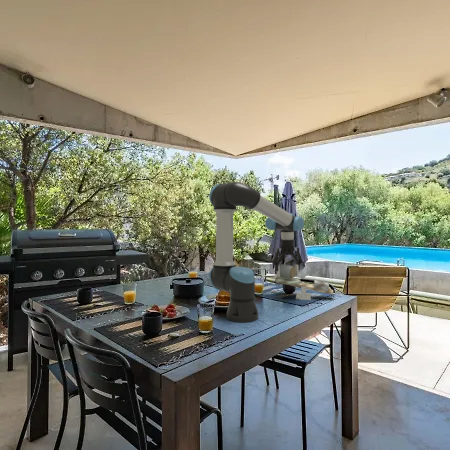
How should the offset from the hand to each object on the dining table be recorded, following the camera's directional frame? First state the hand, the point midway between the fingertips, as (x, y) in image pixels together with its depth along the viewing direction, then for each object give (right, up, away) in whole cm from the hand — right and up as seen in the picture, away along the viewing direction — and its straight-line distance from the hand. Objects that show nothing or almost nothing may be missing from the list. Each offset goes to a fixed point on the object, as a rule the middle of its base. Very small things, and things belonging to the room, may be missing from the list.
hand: (287, 275), depth 197 cm
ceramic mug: (0, -1, +1) cm, 1 cm away
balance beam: (+9, -6, -2) cm, 11 cm away
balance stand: (+9, -12, -2) cm, 15 cm away
